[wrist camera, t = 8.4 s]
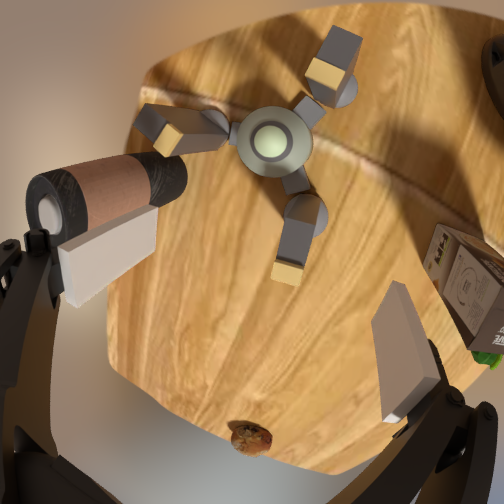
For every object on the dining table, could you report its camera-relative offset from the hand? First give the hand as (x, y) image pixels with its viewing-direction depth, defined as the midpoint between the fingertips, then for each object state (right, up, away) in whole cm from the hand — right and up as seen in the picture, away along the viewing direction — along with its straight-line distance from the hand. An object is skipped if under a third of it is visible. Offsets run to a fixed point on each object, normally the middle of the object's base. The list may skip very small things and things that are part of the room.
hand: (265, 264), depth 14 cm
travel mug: (-12, +11, +21) cm, 27 cm away
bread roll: (0, -43, +41) cm, 59 cm away
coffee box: (+26, 0, +14) cm, 29 cm away
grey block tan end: (+6, +5, +18) cm, 19 cm away
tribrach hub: (+3, +13, +15) cm, 20 cm away
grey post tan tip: (-6, +16, +17) cm, 24 cm away
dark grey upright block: (+8, +19, +11) cm, 23 cm away
